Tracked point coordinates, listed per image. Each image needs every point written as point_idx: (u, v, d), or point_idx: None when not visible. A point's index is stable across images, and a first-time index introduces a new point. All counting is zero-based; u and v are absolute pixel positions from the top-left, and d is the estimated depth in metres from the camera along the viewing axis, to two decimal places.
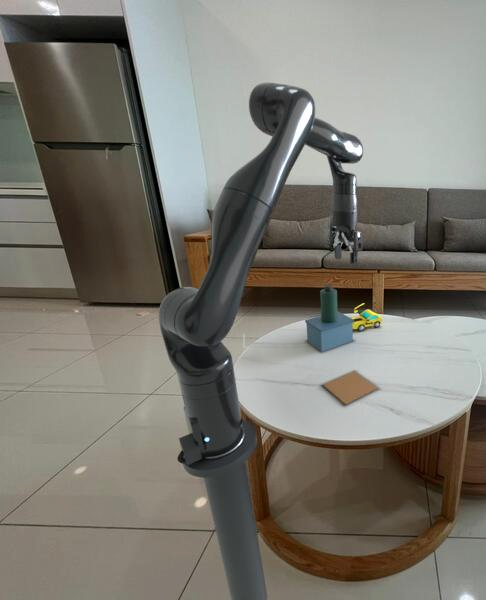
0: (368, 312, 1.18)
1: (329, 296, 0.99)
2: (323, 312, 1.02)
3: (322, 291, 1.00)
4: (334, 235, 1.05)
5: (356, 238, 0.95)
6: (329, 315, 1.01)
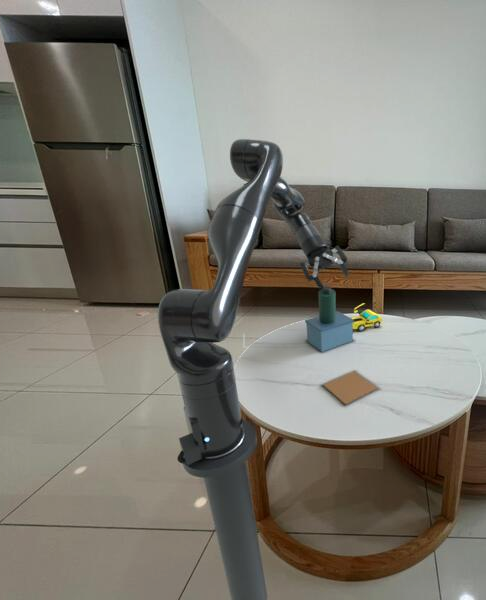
0: (368, 312, 1.18)
1: (330, 299, 0.98)
2: (323, 314, 1.00)
3: (321, 294, 0.98)
4: None
5: (341, 250, 1.04)
6: (329, 316, 1.01)
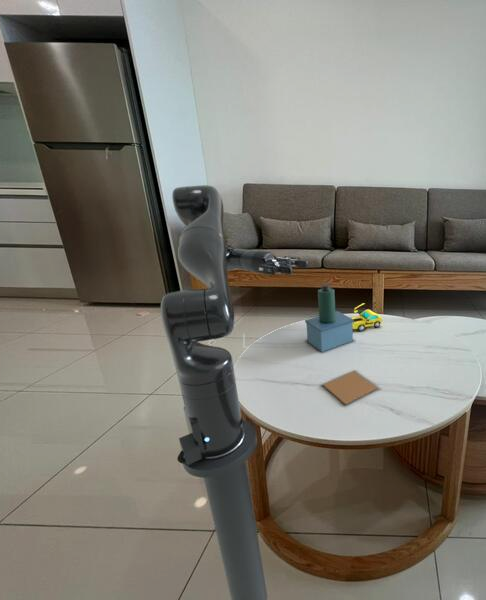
0: (368, 312, 1.18)
1: (329, 295, 0.99)
2: (323, 312, 1.01)
3: (320, 291, 1.00)
4: None
5: None
6: (329, 315, 1.01)
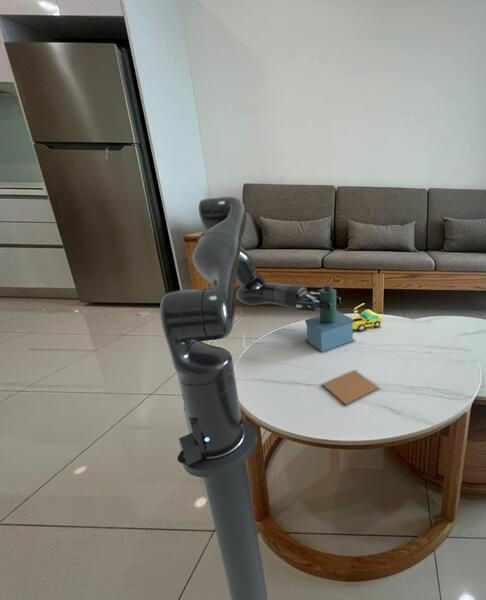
0: (368, 312, 1.18)
1: (331, 295, 0.99)
2: (324, 312, 1.01)
3: (322, 291, 1.00)
4: None
5: None
6: (330, 315, 1.01)
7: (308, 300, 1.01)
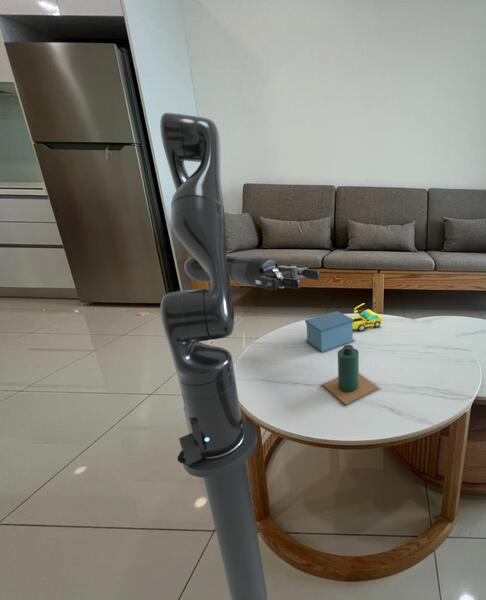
0: (368, 312, 1.18)
1: (353, 360, 0.78)
2: (344, 380, 0.80)
3: (342, 355, 0.79)
4: None
5: None
6: (352, 383, 0.81)
7: (273, 275, 0.77)
